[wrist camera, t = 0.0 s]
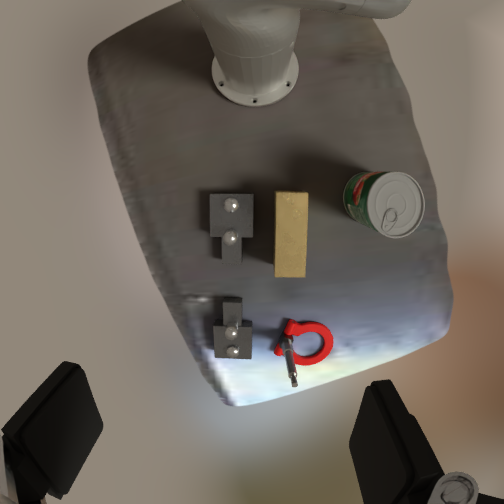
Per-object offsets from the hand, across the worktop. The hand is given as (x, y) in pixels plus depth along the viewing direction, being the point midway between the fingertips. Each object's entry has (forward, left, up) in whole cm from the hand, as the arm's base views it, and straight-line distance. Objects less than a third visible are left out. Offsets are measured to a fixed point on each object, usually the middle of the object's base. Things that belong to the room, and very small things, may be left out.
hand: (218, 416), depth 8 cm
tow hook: (+19, +9, -37) cm, 43 cm away
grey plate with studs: (+8, -3, -37) cm, 38 cm away
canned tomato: (-5, +17, -37) cm, 41 cm away
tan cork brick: (0, +5, -37) cm, 37 cm away
